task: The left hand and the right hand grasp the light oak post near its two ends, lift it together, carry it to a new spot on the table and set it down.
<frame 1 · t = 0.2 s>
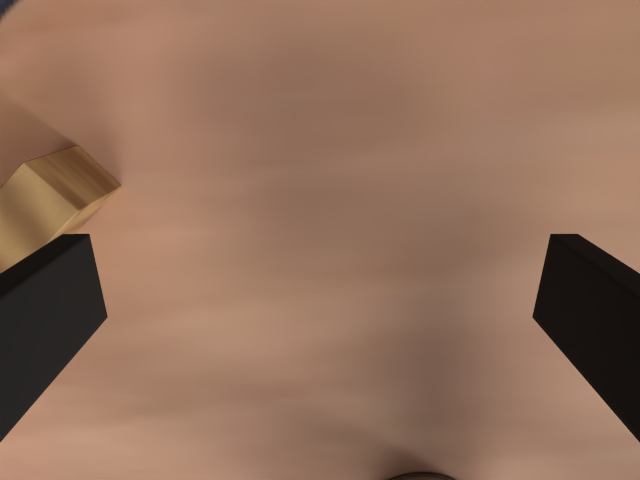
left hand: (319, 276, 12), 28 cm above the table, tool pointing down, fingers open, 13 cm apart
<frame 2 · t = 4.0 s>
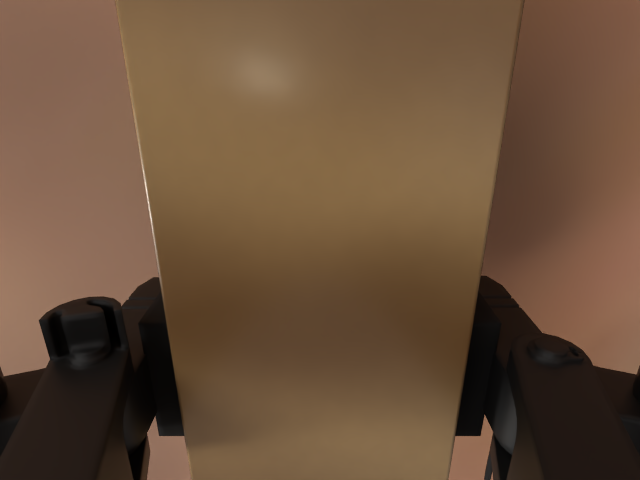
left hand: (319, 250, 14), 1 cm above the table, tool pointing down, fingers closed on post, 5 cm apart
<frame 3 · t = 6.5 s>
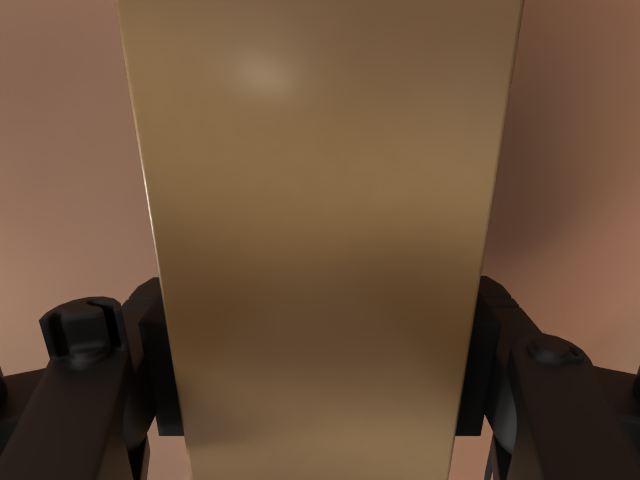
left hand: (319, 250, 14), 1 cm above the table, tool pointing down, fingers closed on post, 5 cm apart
when the left hand's fingers open (2 cm above the table, at t = 11.0 s): post drops 2 cm, on the table.
when the right hand's fingers open (2 cm above the table, at t = 11.1 s): post drops 1 cm, on the table.
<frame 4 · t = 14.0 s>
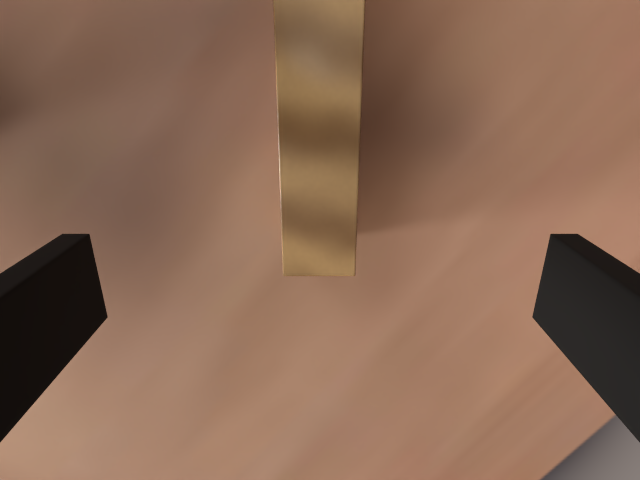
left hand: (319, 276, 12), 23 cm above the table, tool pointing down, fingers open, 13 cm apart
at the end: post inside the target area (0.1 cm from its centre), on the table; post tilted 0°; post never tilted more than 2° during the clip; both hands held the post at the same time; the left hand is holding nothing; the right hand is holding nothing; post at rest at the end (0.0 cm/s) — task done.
